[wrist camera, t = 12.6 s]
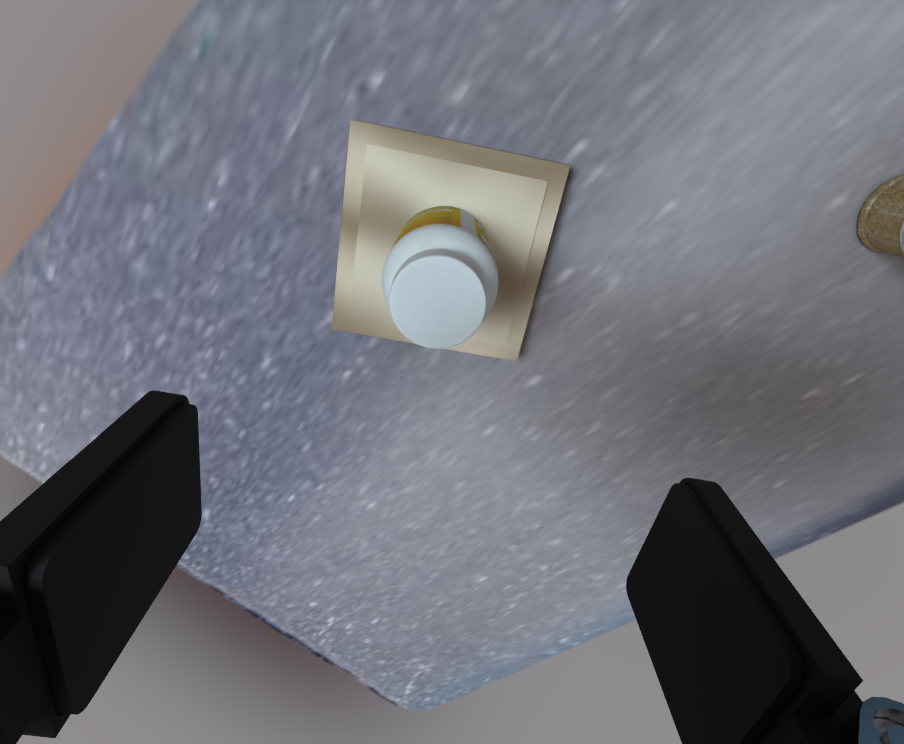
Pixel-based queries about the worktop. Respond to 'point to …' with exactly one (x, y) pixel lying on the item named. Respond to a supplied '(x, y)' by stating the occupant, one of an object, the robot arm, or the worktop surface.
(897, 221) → the sprinkles bottle
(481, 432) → the worktop surface
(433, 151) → the cream square tray
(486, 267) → the supplement bottle
